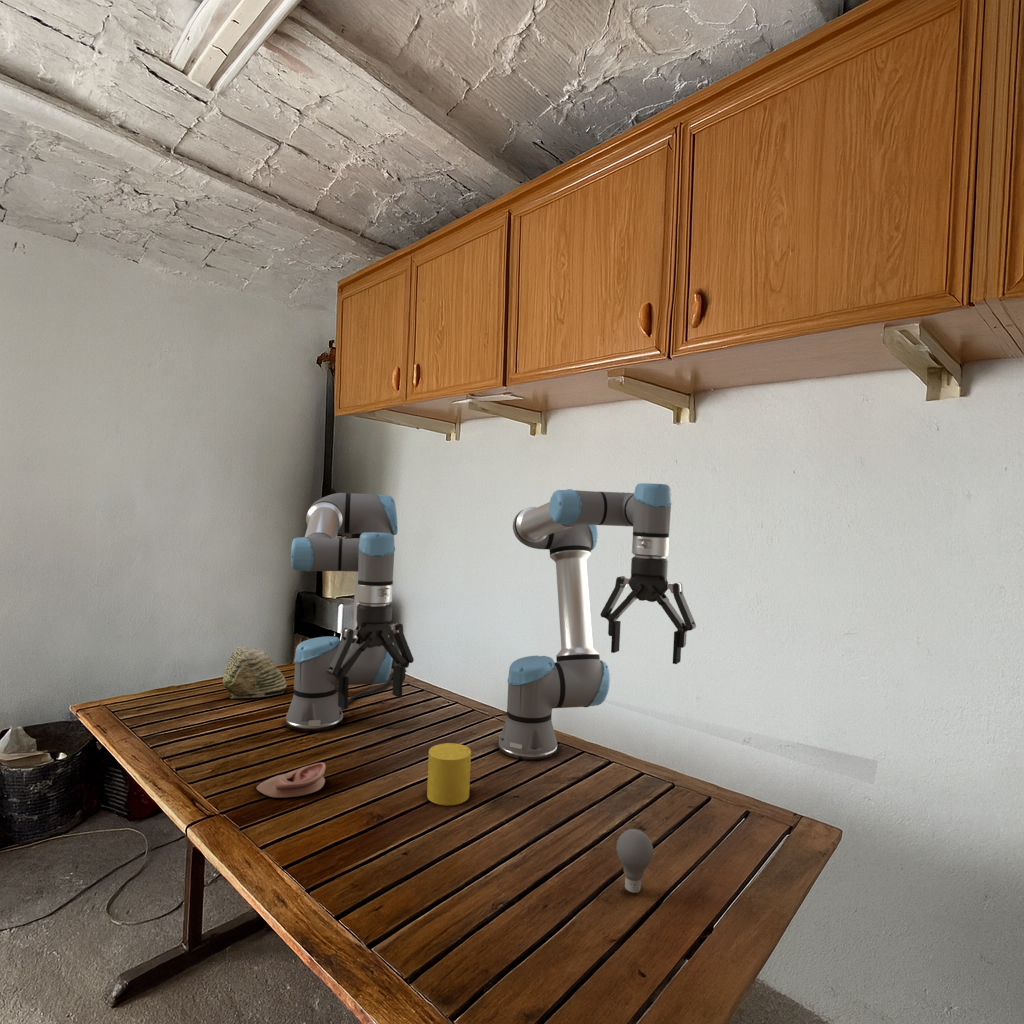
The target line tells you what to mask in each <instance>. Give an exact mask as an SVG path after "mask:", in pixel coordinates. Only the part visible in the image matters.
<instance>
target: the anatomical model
mask: <svg viewBox="0 0 1024 1024" xmlns="http://www.w3.org/2000/svg"><path fill="white" fill-rule="evenodd" d="M326 768H327V765H326V763H325V762H316V763H313V764H309V765H306V766H302V767H300V768H297V769H294V770H292V771H289V772H286V773H282V774H278V775H275V776H273V777H270V778H267V779H265V780H264V781H262V782H261V783H259V784H258V785H256V790H257V792H259V793H261V794H263V795H264V796H267V797H270V798H275V799H278V798H293V797H294V798H295V797H300V796H301V797H302V796H306V795H309V794H312V793H315V792H318V791H320V790H321V789H322V788H323V787H324V785H325V783H326V778H325V777H324V775H325V772H326V770H327V769H326Z"/></svg>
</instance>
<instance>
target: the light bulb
mask: <svg viewBox="0 0 1024 1024" xmlns="http://www.w3.org/2000/svg"><path fill="white" fill-rule="evenodd" d="M615 849H616V854H617V857H618V859H619V861H620V863H621V865H622V867H623V873H624V874H623V875H624V876H625V878H624V888H625V890H627V891H628V892H630V893H634V894H635V893H639V892H640V891H641V889H642V887H641V886H642V879H643V877H644V875H645V871H646V868H647V867H648V866H649V864H650V863H651V861H652V859H653V855H654V847H653V843H652V841H651V838H649V836H648V835H647V834H646V833H645V832H643V831H642V830H641V829H636V828H629V829H627V830H625V831H623V832H622V833H621V834H620V835H619V837H618V839H617V841H616V847H615Z"/></svg>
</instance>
